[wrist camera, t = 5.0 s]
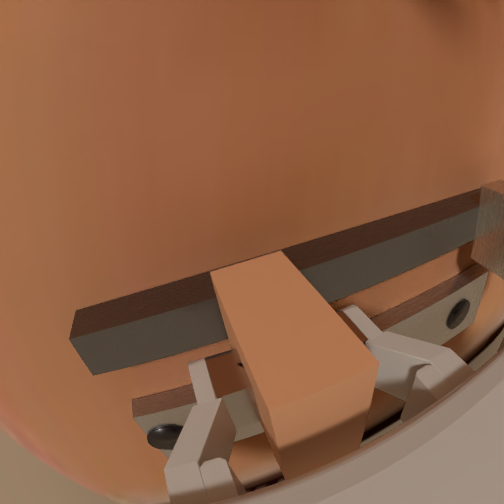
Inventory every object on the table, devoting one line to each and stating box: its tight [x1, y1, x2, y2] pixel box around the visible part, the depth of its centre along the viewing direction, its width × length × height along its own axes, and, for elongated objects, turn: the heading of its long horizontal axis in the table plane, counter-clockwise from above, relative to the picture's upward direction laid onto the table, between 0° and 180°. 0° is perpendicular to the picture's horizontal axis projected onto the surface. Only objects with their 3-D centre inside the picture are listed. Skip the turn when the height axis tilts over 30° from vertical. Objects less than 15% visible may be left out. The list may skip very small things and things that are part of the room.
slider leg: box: [210, 251, 379, 480], centre depth 10 cm, size 2×10×5 cm, turn 10°
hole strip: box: [132, 263, 489, 459], centre depth 17 cm, size 24×5×1 cm, turn 100°
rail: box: [69, 179, 504, 375], centre depth 12 cm, size 24×10×7 cm, turn 100°
